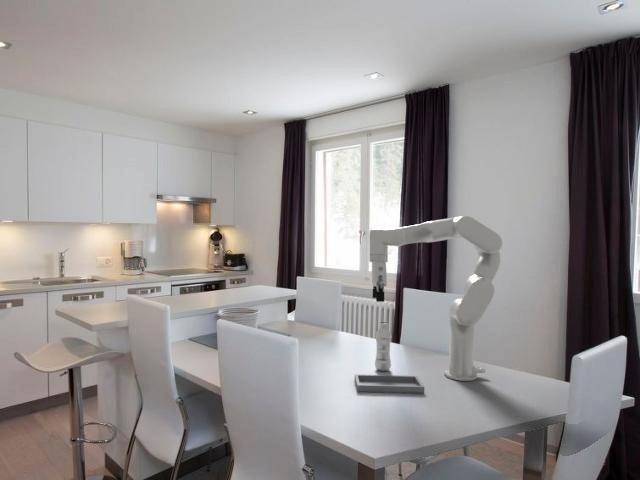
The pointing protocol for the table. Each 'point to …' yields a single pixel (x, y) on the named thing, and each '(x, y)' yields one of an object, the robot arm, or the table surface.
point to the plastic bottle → (383, 347)
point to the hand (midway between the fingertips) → (378, 299)
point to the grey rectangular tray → (388, 384)
